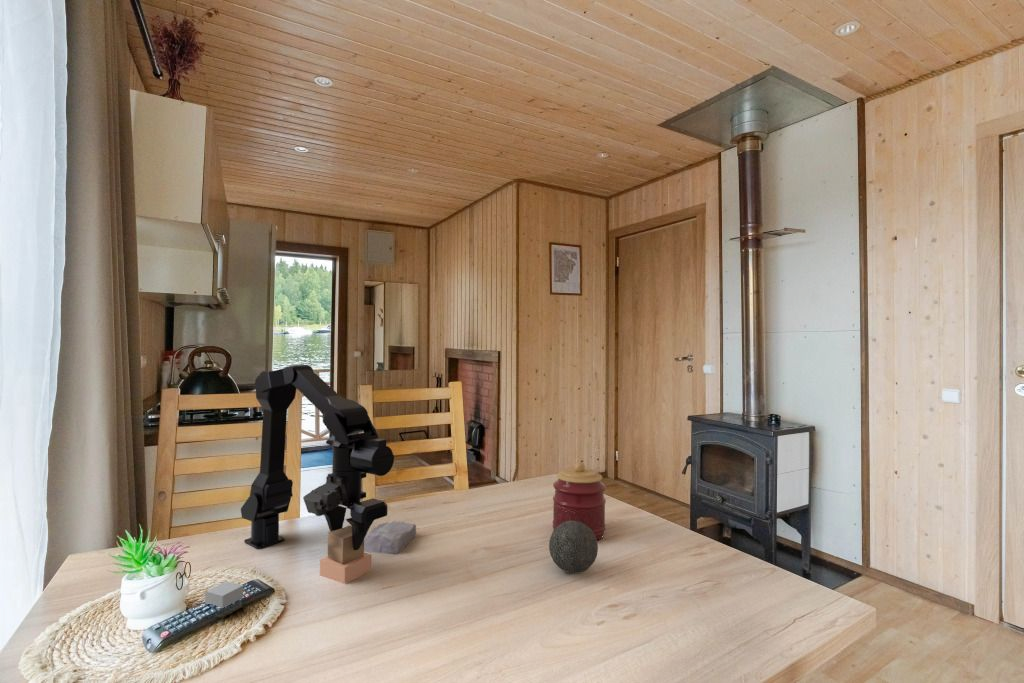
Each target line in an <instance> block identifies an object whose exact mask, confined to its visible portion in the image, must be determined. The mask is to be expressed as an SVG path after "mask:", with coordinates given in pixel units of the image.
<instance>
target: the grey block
mask: <svg viewBox="0 0 1024 683" xmlns="http://www.w3.org/2000/svg"><path fill="white" fill-rule="evenodd" d="M204 595H205V597H204V598H205V599H204V605H205V604H213V605H216V606H218V607H220V608H224V607H226V606H228V605H230V604H231V603H233V602H235V601H237V600H239V599H241V598H242V597H243V598H244V585H242V584H239V583H236V582H235V583H234V582H233V581H232V582H231V581H228V580H226V581H224V582H222V583H220V584H218V585H216V586H213V587H212V588H210V589H208V590H206V591H205V593H204Z"/></svg>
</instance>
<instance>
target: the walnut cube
mask: <svg viewBox="0 0 1024 683" xmlns="http://www.w3.org/2000/svg"><path fill="white" fill-rule="evenodd" d="M327 534H328V535H327V536H328V537H327V556H328V558H330V559H332V560H334V561H336V562H338V563H340V564H345V563H347V562H350V561H353V560H355V559H358V558H361V557H363V556H364V552H365V551H364V540H363V542H362V544H361V546H360V548H359V549H358V550H356V551H355V550H354V549H353V541H352V526H351V525H348V526H345V527H342V528H341V529H338V530H334V531H331V532H330V531H328V533H327Z"/></svg>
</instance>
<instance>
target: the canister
mask: <svg viewBox="0 0 1024 683" xmlns="http://www.w3.org/2000/svg"><path fill="white" fill-rule="evenodd" d="M585 466H586V465H585V464H584V462H582V461H577V462H575V463H574V465H573V467H565V468H563V469H562V470H561V471H559V472H558V473H556V477H557V480H555V481H554V482H553V484H552V486H553V488H554V495H553V497H552V500H553V511H552V512H553V520H552V528H553V530H552V531H554V530H555V528H556V527H557V526H559V525H560V524H562V523H564V522H566V521H578V522H581V523H583V524H585V525H587V526H588V527H589V528H590V529H591V530H592V531H593V533H594V534H595V537H596V539H599V538H601V537H602V536H603V535H604V536H605V531H606V517H605V516H606V503H607V501H606V498H605V497H604V496H605V495H604V492H605V490H606V484H604V483H603V482H602V480H603V475H601V474H600V473H599V472H597V470H595V469H593V468H588V467H585ZM604 536H603V537H604ZM603 537H602V538H603ZM602 538H601V539H602ZM599 540H600V539H599Z"/></svg>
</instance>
